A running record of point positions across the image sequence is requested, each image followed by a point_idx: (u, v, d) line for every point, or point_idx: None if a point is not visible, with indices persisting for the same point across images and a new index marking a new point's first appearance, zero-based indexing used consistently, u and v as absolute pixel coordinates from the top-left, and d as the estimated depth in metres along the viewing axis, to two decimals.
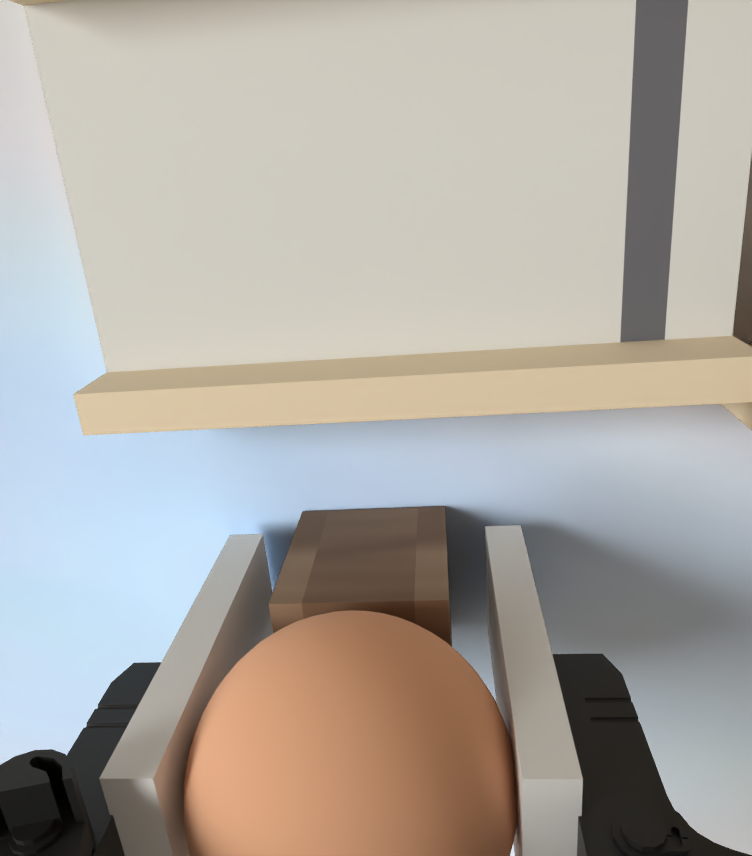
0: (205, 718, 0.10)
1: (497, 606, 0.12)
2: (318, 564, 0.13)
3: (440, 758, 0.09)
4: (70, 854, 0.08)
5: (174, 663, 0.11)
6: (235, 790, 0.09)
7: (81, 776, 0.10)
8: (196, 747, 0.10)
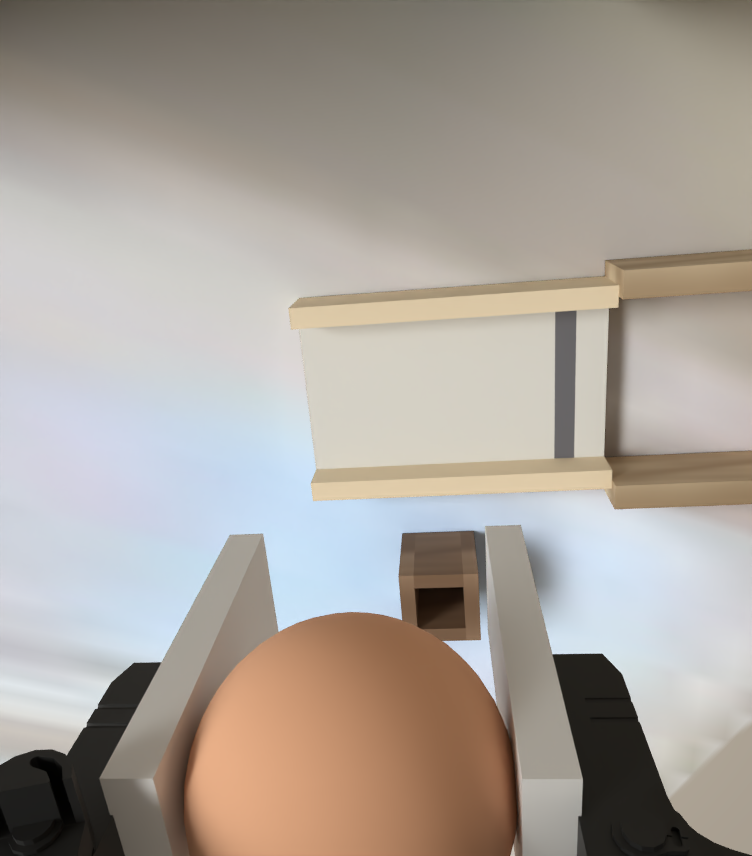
0: (205, 720, 0.10)
1: (497, 606, 0.12)
2: (416, 559, 0.29)
3: (440, 761, 0.09)
4: (70, 854, 0.08)
5: (174, 663, 0.11)
6: (235, 792, 0.09)
7: (81, 776, 0.10)
8: (196, 749, 0.10)
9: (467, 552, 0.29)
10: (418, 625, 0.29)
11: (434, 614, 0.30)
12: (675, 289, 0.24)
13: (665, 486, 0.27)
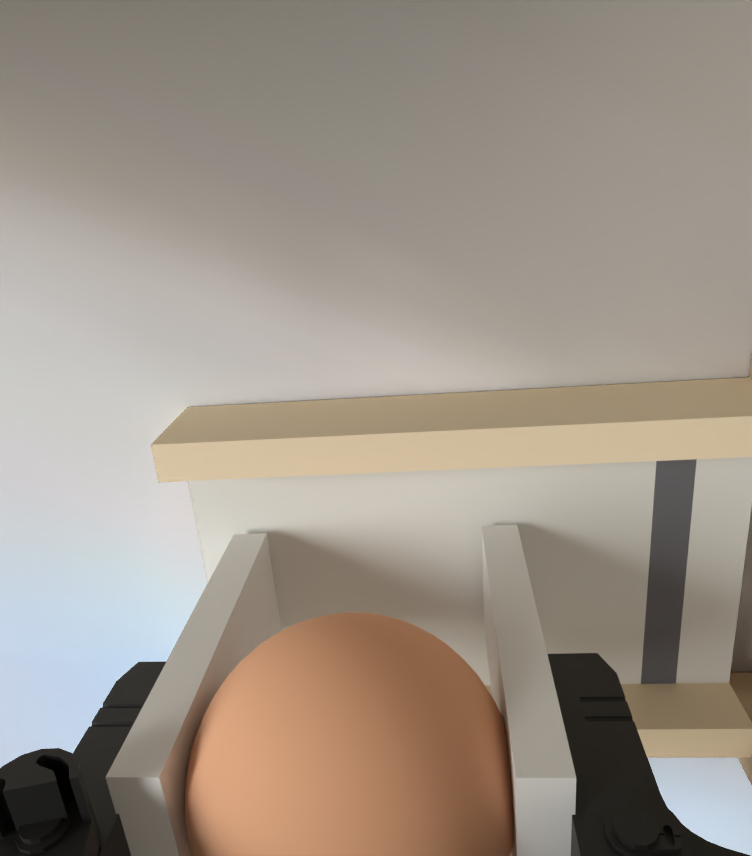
0: (206, 720, 0.10)
1: (493, 606, 0.12)
2: None
3: (441, 760, 0.09)
4: (77, 853, 0.08)
5: (179, 662, 0.11)
6: (236, 791, 0.09)
7: (86, 776, 0.10)
8: (197, 749, 0.10)
9: None
10: None
11: None
12: None
13: None
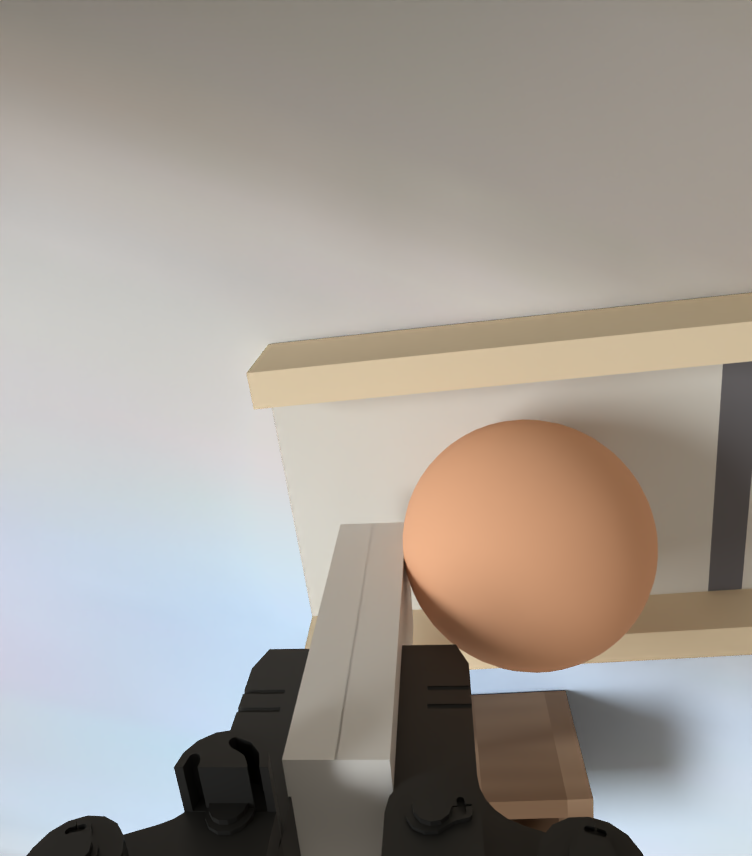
0: (424, 511, 0.13)
1: (360, 599, 0.13)
2: (483, 759, 0.18)
3: (611, 468, 0.13)
4: (262, 844, 0.08)
5: (323, 648, 0.11)
6: (487, 524, 0.12)
7: None
8: (428, 529, 0.13)
9: (564, 743, 0.18)
10: None
11: None
12: None
13: None
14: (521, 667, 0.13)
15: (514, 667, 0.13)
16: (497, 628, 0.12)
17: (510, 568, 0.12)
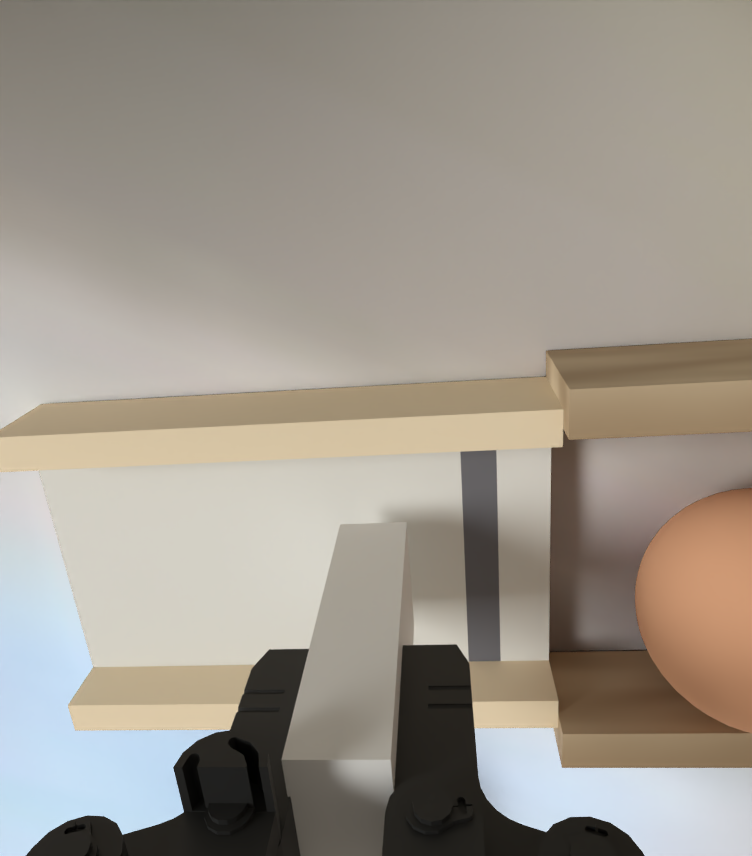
0: None
1: (361, 599, 0.13)
2: None
3: (751, 571, 0.13)
4: (261, 844, 0.08)
5: (322, 648, 0.11)
6: (673, 516, 0.15)
7: None
8: None
9: None
10: None
11: None
12: (665, 424, 0.13)
13: (647, 736, 0.16)
14: None
15: None
16: None
17: (649, 546, 0.15)
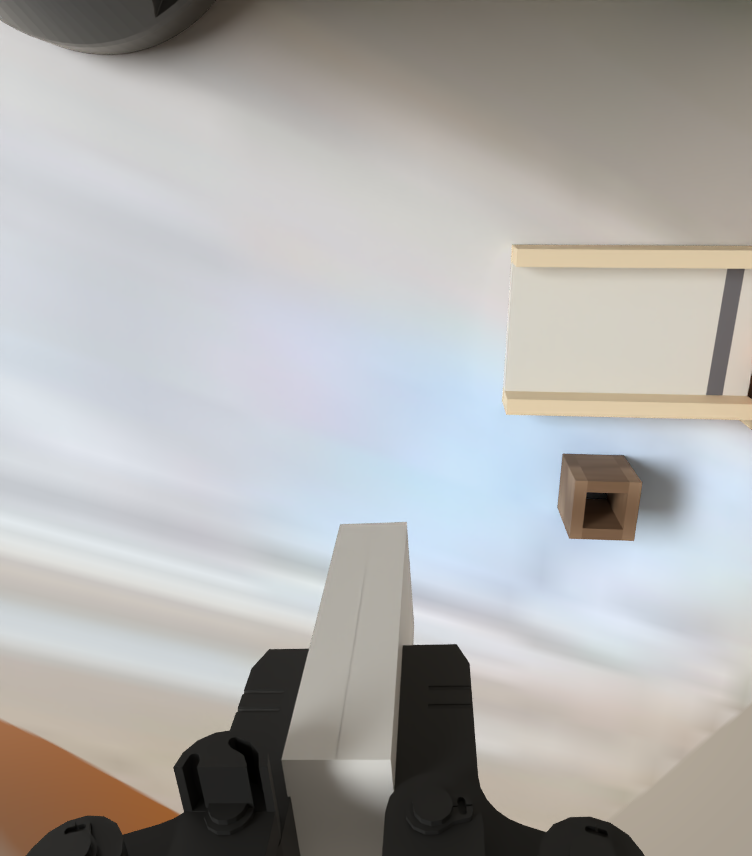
0: None
1: (361, 599, 0.13)
2: (584, 470, 0.35)
3: None
4: (261, 844, 0.08)
5: (322, 648, 0.11)
6: None
7: None
8: None
9: (625, 468, 0.35)
10: None
11: (592, 519, 0.36)
12: None
13: None
14: None
15: None
16: None
17: None
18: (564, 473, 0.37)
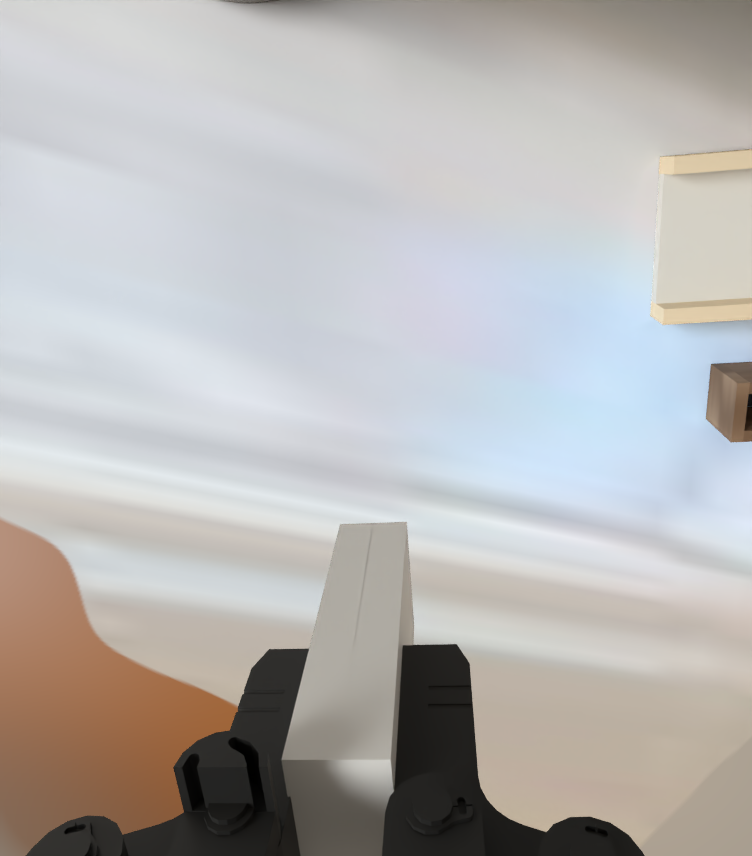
0: None
1: (361, 599, 0.13)
2: (741, 375, 0.36)
3: None
4: (261, 844, 0.08)
5: (322, 648, 0.11)
6: None
7: None
8: None
9: None
10: None
11: (750, 423, 0.36)
12: None
13: None
14: None
15: None
16: None
17: None
18: (716, 382, 0.37)
